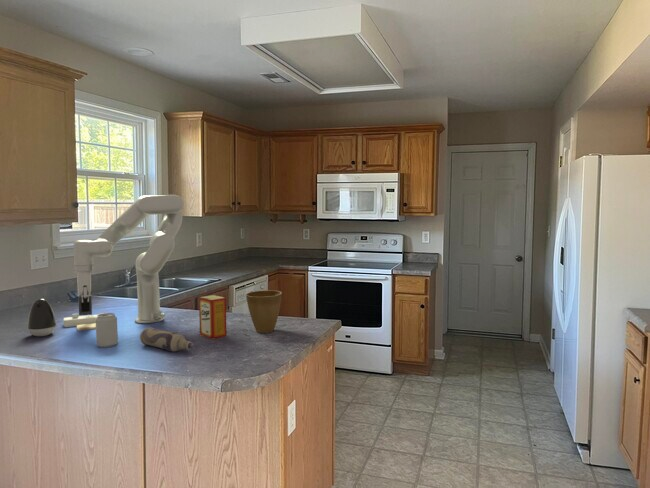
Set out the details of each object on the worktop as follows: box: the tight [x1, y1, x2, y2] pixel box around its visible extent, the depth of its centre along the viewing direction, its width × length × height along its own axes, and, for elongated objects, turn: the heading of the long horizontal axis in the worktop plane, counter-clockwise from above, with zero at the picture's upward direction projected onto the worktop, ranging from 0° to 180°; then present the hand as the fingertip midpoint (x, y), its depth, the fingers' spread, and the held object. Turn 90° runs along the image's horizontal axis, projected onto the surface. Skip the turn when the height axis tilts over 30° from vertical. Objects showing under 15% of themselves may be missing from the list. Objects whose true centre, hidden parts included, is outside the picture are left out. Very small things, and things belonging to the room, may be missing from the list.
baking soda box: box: [198, 294, 228, 340], centre depth 201 cm, size 10×6×16 cm
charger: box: [77, 294, 93, 316], centre depth 215 cm, size 5×4×8 cm
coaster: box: [76, 323, 96, 332], centre depth 216 cm, size 8×8×1 cm
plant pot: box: [245, 289, 282, 334], centre depth 208 cm, size 15×15×16 cm
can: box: [95, 312, 119, 348], centre depth 188 cm, size 8×8×12 cm
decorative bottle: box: [139, 327, 196, 352], centre depth 182 cm, size 26×8×7 cm, turn 56°
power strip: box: [63, 312, 104, 328], centre depth 224 cm, size 18×6×5 cm, turn 117°
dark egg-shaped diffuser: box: [27, 298, 57, 337], centre depth 204 cm, size 10×10×15 cm
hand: (85, 310), depth 215 cm, fingers closed on charger, 4 cm apart
